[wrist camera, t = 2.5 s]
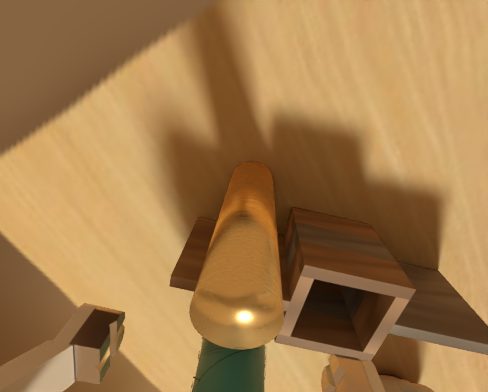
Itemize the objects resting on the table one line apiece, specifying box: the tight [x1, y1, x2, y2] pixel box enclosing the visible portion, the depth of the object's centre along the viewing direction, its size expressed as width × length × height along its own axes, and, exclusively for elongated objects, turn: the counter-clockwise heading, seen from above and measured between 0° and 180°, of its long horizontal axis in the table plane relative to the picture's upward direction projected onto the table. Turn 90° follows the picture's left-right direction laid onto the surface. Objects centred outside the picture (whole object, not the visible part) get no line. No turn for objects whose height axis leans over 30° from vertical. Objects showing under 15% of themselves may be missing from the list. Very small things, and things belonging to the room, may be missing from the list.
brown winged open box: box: [170, 207, 488, 361], centre depth 24 cm, size 8×26×9 cm, turn 78°
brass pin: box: [189, 161, 284, 349], centre depth 19 cm, size 4×4×16 cm
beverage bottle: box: [191, 337, 266, 392], centre depth 23 cm, size 6×7×20 cm
